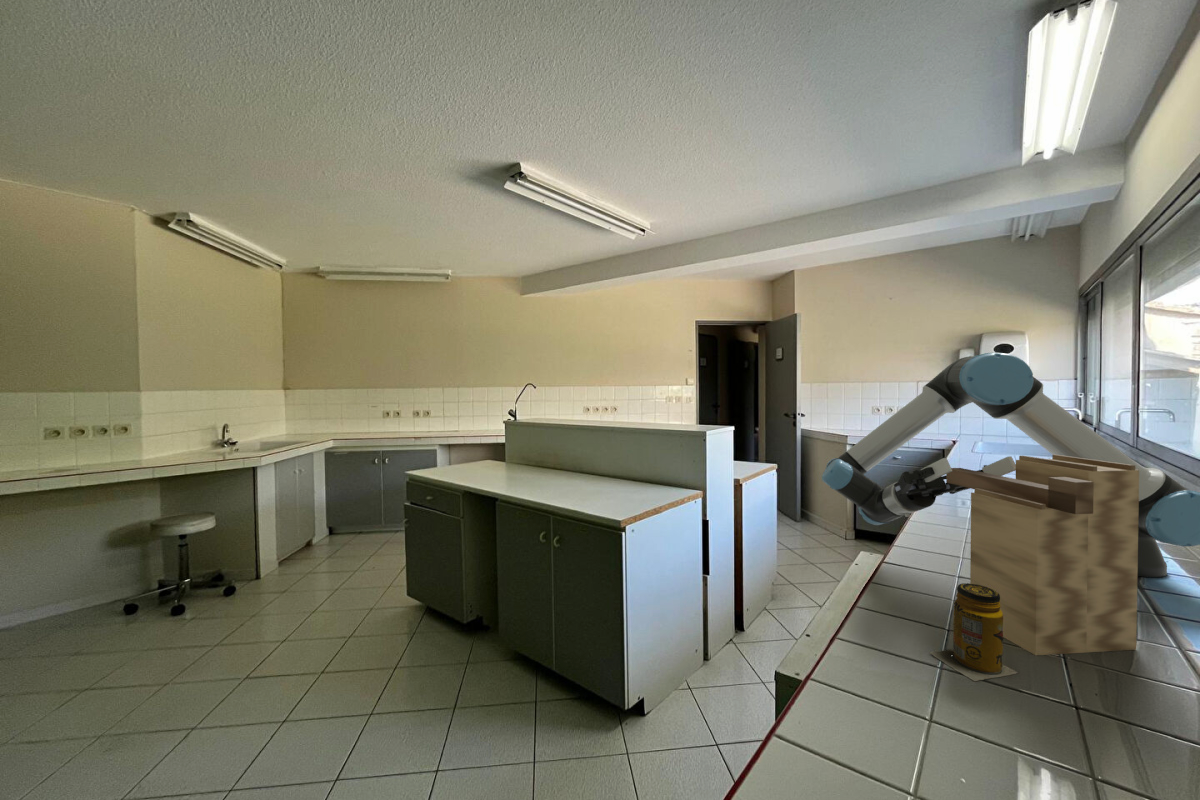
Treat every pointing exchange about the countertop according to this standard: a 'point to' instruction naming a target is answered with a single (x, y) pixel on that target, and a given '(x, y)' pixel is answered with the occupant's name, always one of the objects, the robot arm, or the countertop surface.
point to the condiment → (976, 634)
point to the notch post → (1062, 559)
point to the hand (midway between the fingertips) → (980, 463)
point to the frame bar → (1032, 489)
